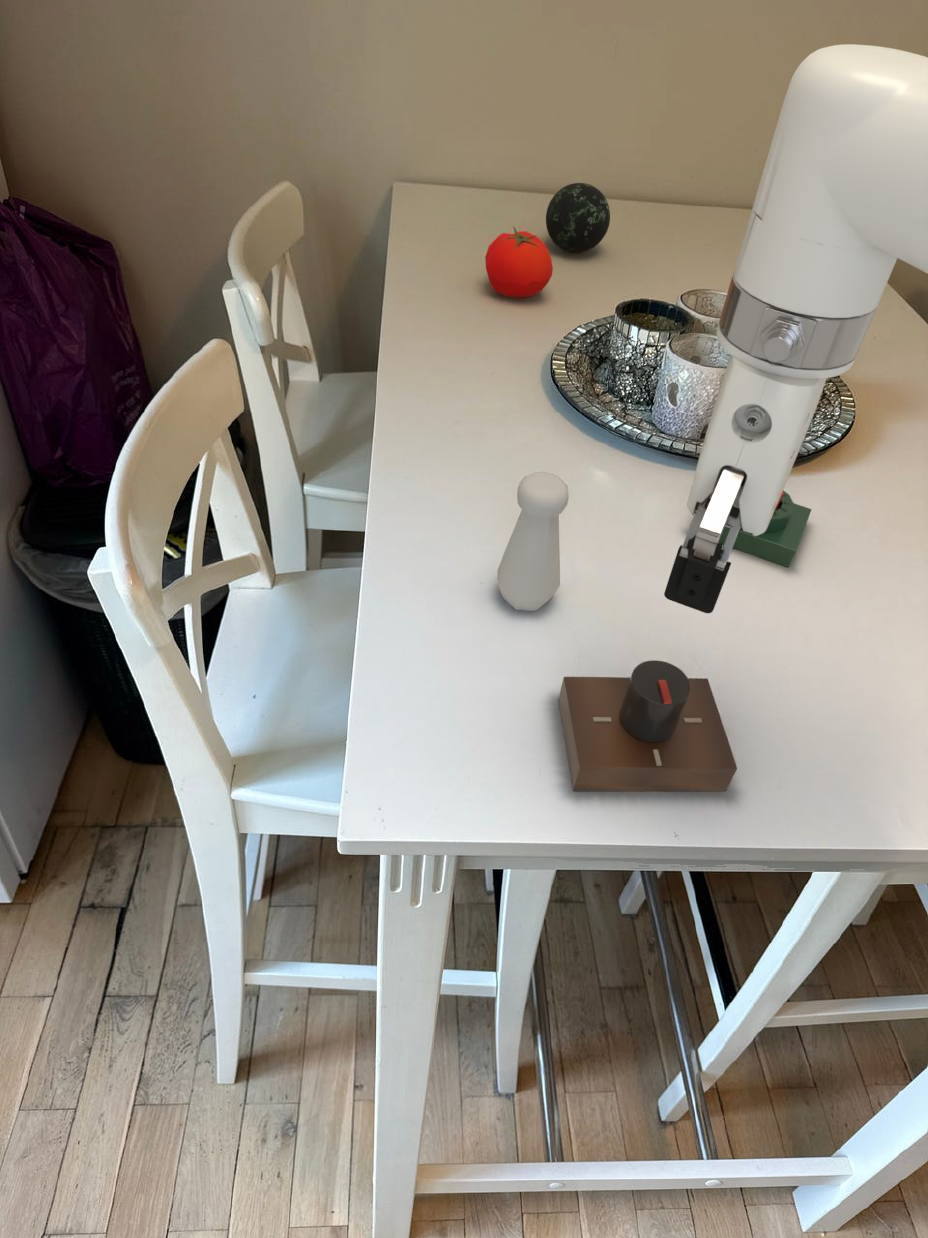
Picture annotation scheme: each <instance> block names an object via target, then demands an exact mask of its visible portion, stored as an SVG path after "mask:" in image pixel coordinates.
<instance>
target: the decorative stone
mask: <svg viewBox="0 0 928 1238" xmlns="http://www.w3.org/2000/svg"><path fill="white" fill-rule="evenodd" d="M610 223H611V211H610V206H609V203H608V201H607V198H606V197H605V195H604V194H603V193H602V192H601V190H599V189H598V188H596V186H594V185H593V184H589V183H585V182H574V183H569V184H567V185H565V186H563V187H561V188H560V189H559V190H558V191H557V192H556V193H555V194H554V195H553V196H552V198H551V199H550V201H549V203H548V205H547V208H546V212H545V226H546V231H547V234H548V236H549V238H550V240H551V241H552V242H553V244H554V245H555V246H556V247H558V248H559V249H560V250H562V251H565V252H567V253H571V254H581V253H586V252H588V251H590V250H593V249H594V248H595V247H596V246H597V245H599V244H600V243H601V242H602V240H603V239H604V238H605V236H606V234H607V233H608V230H609V227H610Z"/></svg>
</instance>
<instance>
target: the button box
mask: <svg viewBox="0 0 928 1238" xmlns="http://www.w3.org/2000/svg"><path fill="white" fill-rule="evenodd" d="M783 491H784V493H783V496H782V498H781V501H780V503H779V506H778V508H777V509H776V510H775V511H774V513H773V515H772V518H771V520H770V523H769V525H768V527H767V529H766V531H765V532H764V533H762V534H760V535H758V536H754V535H753V534H752V533H749V532H745V531H743V530H739V533H738V535H737V538H736V541H735V543H734V546H733V548H732V549H735V550H739V551H741V552H744V553H746V554H750V555H752V556H755V557H759V558H761V559H764V560H766V561H770V562H772V563H775V564H777V565H780V566H784V567H786V568H790V566H791V564H792V561H793V560H794V557H795V555H796V553H797V550H798V548H799V544H800V542H801V540H802V538H803V537H802V536H803V534H804V532H805V529H806V527H807V523H808V520H809V518H810V515H811V513H812V508H809V507H806V506H803V505H800V504H797V503H795V502H794V501H793V499H792V497H791V495H790V494H789V493H788V492H787V491H786V490H783ZM729 531H730V528H728V527H724V529H723V532H722V535H721V538H720V540H719V543H721V544H722V545H724V543H725V541H726V538H727V536H728V533H729Z"/></svg>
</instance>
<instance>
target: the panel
mask: <svg viewBox="0 0 928 1238" xmlns="http://www.w3.org/2000/svg"><path fill="white" fill-rule="evenodd" d="M630 678H631V677H625V676H624V677H618V676H617V677H616V676H608V677H607V676H563V679H562V682H561V687H560V691H559V696H558V699H557V701H558V707H559V714H560V719H561V726H562V732H563V738H564V744H565V750H566V755H567V762H568V767H569V773H570V779H571V786H572V792H727V790H728V788H729V787H730V784H731V782H732V781H733V778H734V776H735V775H736V772H737V770H738V767H737V763H736V760H735V757H734V754H733V751H732V748H731V745H730V742H729V740H728V736H727V733H726V729H725V727H724V724H723V720H722V718H721V714H720V711H719V708H718V706H717V703H716V700H715V697H714V694H713V690H712V688H711V687H712V686H711V685H710V682H709V678H696V677H694V678H693V677H691V678H690V677H687V678H688V680H689V682H690V688H691V689H690V694H689V696H688V699H687V701H686V704H685V706H684V709H683V711H682V714H681V716H680V719H679V722H678V724H677V727H676V729H675V732H674V733H673V735H672V736H671V737H670V738H668V739H667V740H664V741H662V742H655V743H652V742H645V741H641V740H639V739H637V738H635V737H633V736H632V735H630V734H629V733H628V732H627V731H626V730H625V729H624V727H623V726H622V724H621V721H620V710H621V707H622V704H623V700H624V697H625V694H626V691H627V688H628V685H629V681H630Z"/></svg>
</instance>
